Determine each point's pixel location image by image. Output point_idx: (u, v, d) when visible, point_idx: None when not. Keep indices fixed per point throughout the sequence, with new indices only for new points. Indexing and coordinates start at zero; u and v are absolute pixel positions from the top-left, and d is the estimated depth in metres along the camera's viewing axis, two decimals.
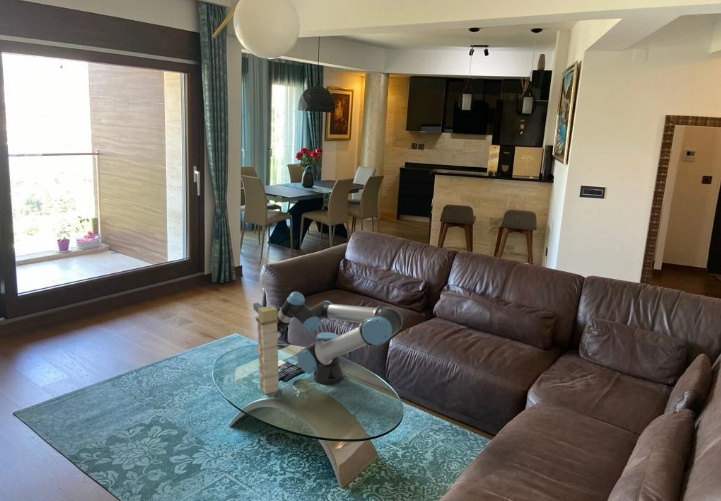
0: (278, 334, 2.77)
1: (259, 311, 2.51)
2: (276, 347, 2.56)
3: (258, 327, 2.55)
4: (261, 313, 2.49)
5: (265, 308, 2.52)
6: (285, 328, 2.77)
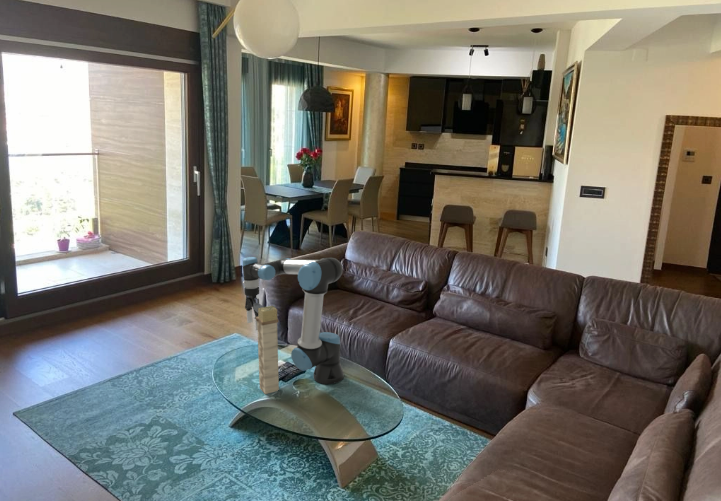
0: (250, 312, 2.92)
1: (259, 311, 2.51)
2: (276, 347, 2.56)
3: (258, 327, 2.55)
4: (261, 313, 2.49)
5: (265, 308, 2.52)
6: None
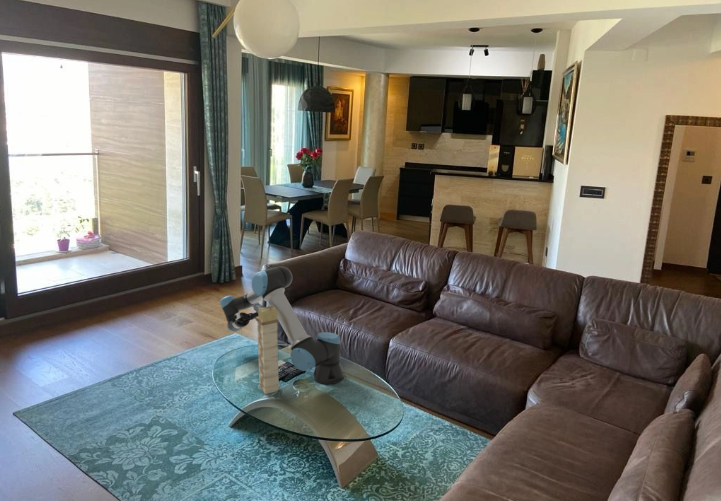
0: None
1: (259, 311, 2.51)
2: (276, 347, 2.56)
3: (258, 327, 2.55)
4: (261, 313, 2.49)
5: (265, 308, 2.52)
6: None
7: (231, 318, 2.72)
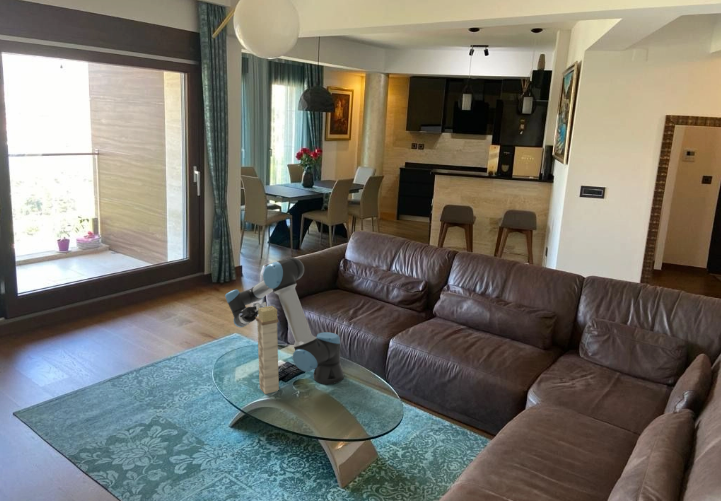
0: None
1: (259, 311, 2.51)
2: (276, 347, 2.56)
3: (258, 327, 2.55)
4: (261, 313, 2.49)
5: (265, 308, 2.52)
6: None
7: (250, 309, 2.61)
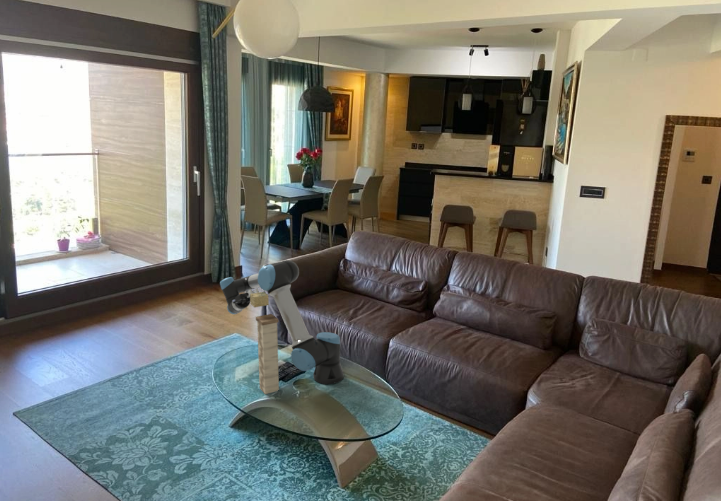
0: None
1: (251, 297, 2.58)
2: (276, 347, 2.56)
3: (258, 327, 2.55)
4: (253, 298, 2.56)
5: (257, 294, 2.59)
6: None
7: (243, 296, 2.68)
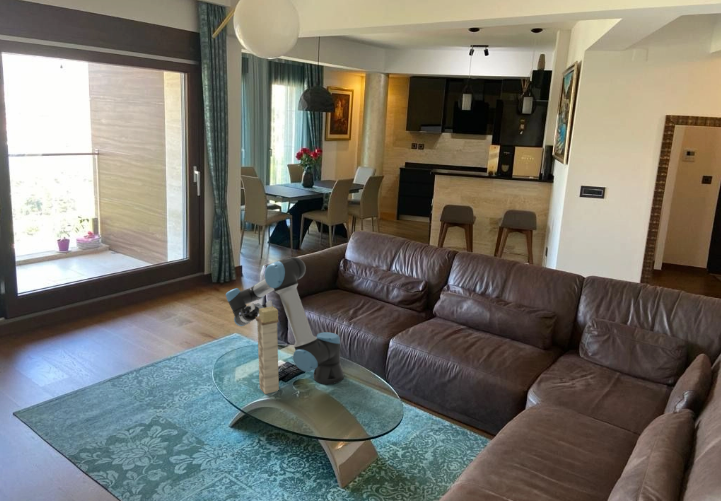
0: (266, 304, 2.64)
1: (260, 312, 2.50)
2: (276, 347, 2.56)
3: (258, 327, 2.55)
4: (262, 313, 2.48)
5: (266, 309, 2.51)
6: None
7: (245, 309, 2.59)
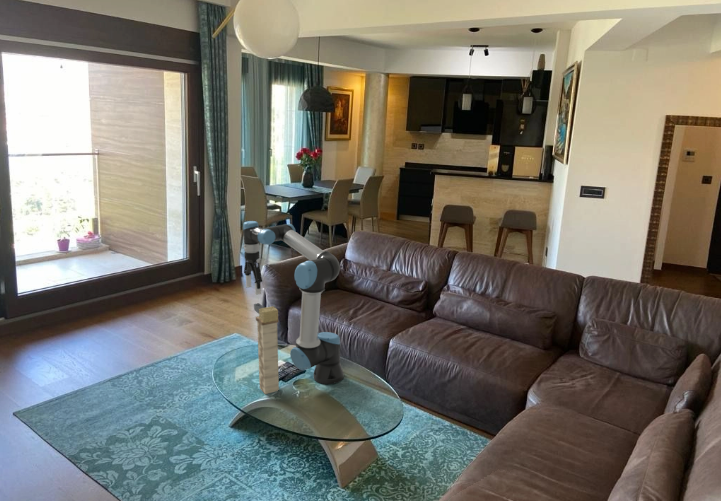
0: (249, 277, 2.90)
1: (260, 312, 2.50)
2: (276, 347, 2.56)
3: (258, 327, 2.55)
4: (262, 313, 2.48)
5: (266, 309, 2.51)
6: None
7: (259, 282, 2.77)
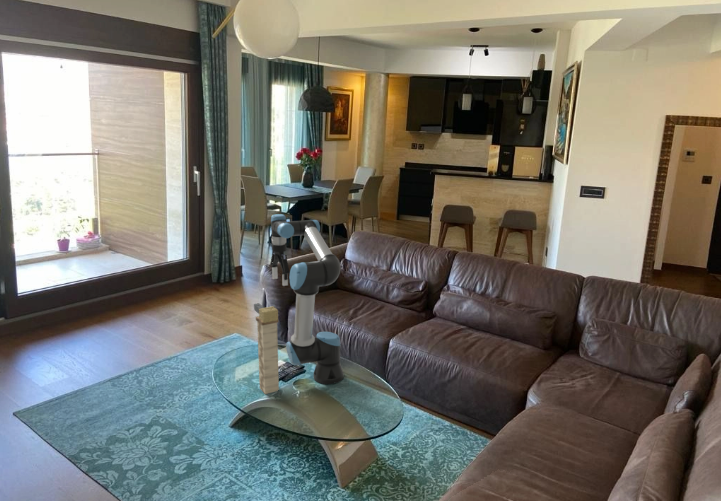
0: (275, 268, 2.98)
1: (260, 312, 2.50)
2: (276, 347, 2.56)
3: (258, 327, 2.55)
4: (262, 313, 2.48)
5: (266, 309, 2.51)
6: None
7: (286, 273, 2.85)
